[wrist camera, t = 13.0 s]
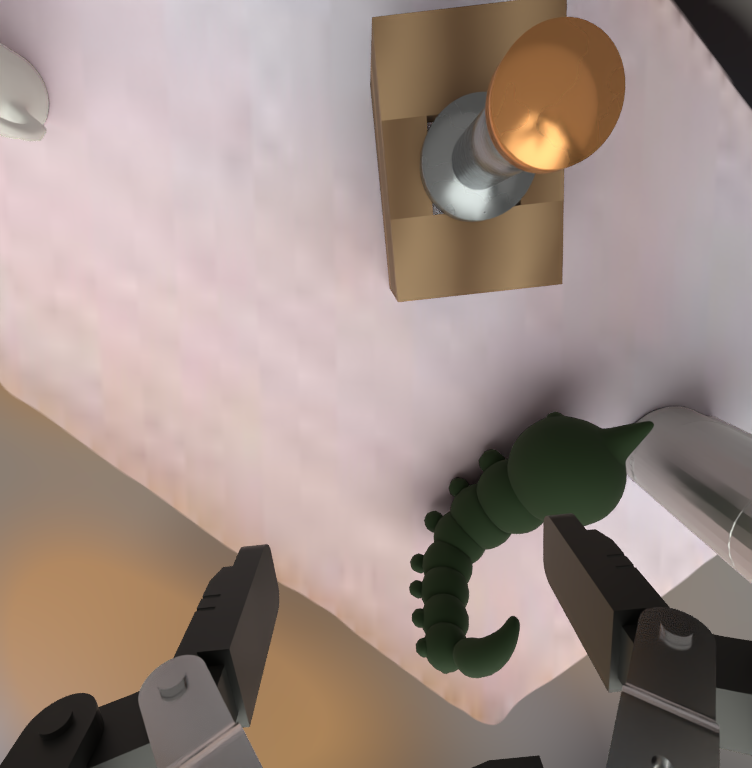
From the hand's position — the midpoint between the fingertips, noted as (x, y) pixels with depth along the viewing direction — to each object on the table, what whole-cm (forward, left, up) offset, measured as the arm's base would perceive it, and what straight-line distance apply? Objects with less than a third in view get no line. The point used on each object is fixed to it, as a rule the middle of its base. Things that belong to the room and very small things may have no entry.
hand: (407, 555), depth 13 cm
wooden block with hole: (-7, -13, -30) cm, 34 cm away
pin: (-7, -13, -27) cm, 31 cm away
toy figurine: (-11, +15, -30) cm, 36 cm away
